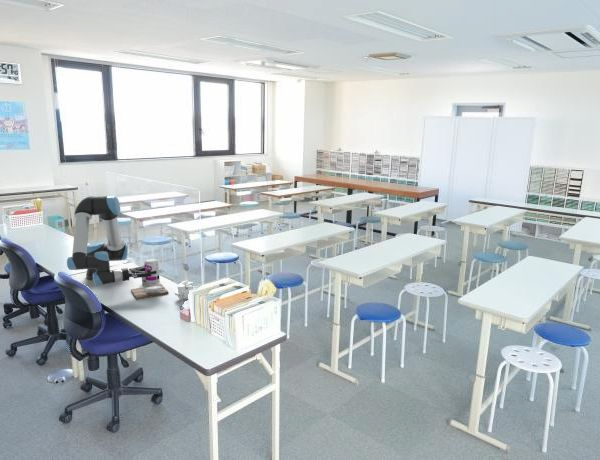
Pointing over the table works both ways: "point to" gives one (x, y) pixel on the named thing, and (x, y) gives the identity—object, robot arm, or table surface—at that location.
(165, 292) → the gear board
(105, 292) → the table surface
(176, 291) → the mechanical part
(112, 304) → the table surface
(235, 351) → the table surface
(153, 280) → the supplement can
